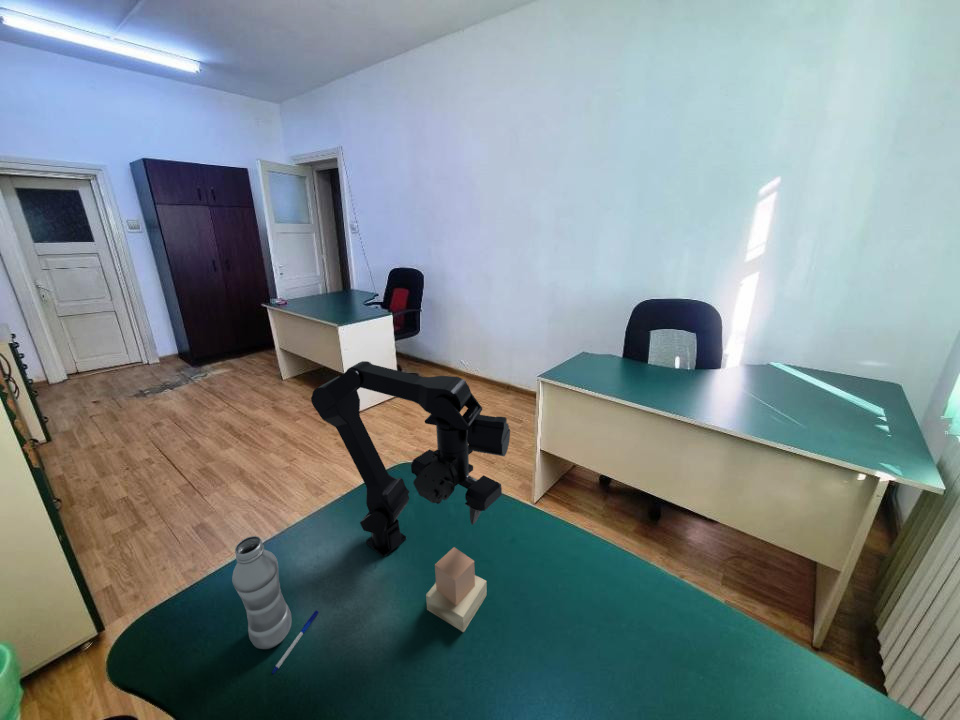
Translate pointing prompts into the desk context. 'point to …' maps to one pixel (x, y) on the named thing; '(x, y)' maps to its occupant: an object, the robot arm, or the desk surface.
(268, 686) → the desk surface
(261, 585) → the plastic bottle
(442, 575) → the terracotta block
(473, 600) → the beech block
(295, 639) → the ballpoint pen
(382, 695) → the desk surface
